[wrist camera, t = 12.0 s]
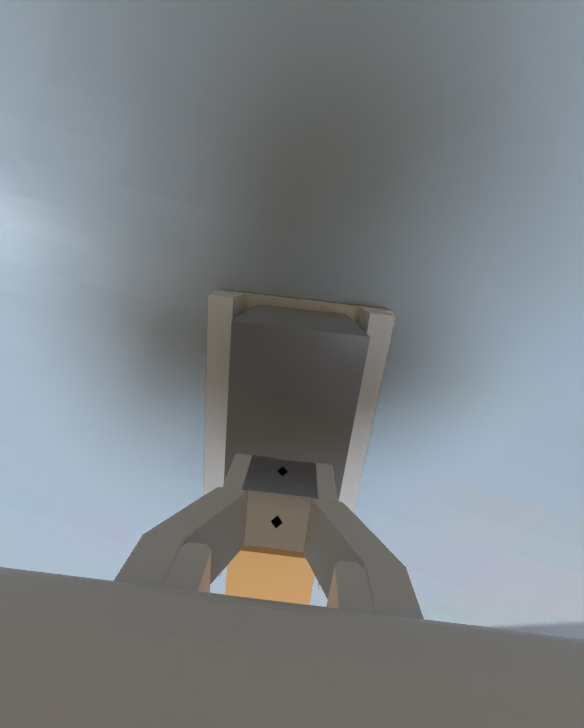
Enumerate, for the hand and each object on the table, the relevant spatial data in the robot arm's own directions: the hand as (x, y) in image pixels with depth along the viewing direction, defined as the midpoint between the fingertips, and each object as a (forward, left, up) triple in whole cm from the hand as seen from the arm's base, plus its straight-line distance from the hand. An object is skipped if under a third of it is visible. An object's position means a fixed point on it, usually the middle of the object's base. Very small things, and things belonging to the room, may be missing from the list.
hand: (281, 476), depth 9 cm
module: (0, 0, -9) cm, 9 cm away
